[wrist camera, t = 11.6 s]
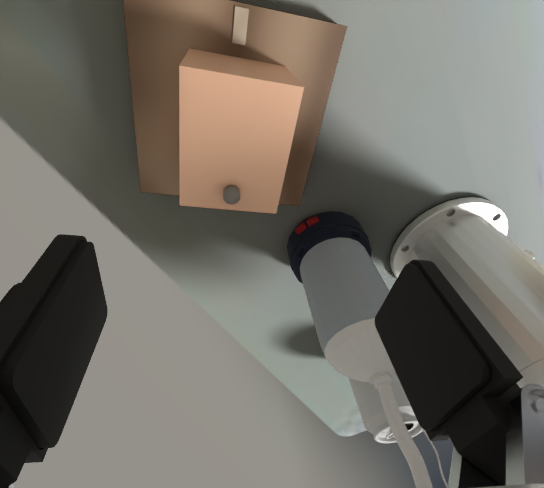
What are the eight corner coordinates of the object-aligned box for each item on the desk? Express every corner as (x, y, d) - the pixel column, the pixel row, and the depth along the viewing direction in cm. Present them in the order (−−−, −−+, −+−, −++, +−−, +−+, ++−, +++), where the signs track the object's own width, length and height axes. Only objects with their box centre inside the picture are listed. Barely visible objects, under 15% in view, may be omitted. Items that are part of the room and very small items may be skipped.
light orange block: (285, 66, 20) (306, 90, 15) (266, 172, 25) (277, 218, 19) (189, 48, 19) (177, 67, 14) (188, 163, 23) (178, 210, 18)
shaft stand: (337, 23, 21) (375, 32, 16) (295, 194, 28) (311, 238, 23) (129, -22, 18) (92, -30, 13) (145, 180, 26) (126, 225, 21)
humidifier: (303, 203, 29) (463, 610, 10) (376, 220, 32) (621, 575, 12) (276, 265, 34) (347, 627, 14) (341, 276, 36) (479, 599, 17)
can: (390, 353, 49) (430, 437, 39) (344, 365, 49) (372, 451, 40) (388, 326, 44) (432, 415, 35) (337, 340, 44) (367, 431, 35)
